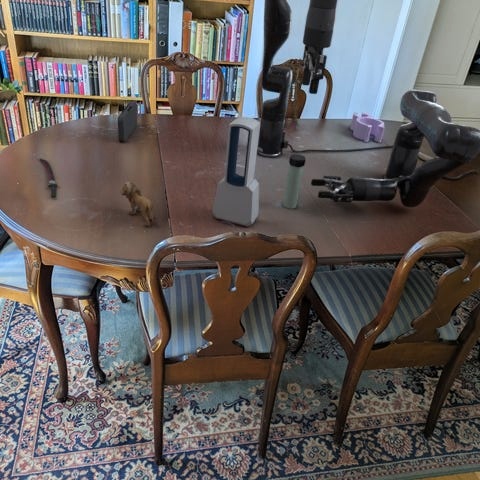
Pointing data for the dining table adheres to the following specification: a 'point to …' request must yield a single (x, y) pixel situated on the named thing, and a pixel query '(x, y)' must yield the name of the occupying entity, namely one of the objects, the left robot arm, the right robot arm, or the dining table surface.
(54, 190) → the sword
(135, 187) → the lion figurine
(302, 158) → the lid
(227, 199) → the electronic device
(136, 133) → the dining table surface
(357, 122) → the clip
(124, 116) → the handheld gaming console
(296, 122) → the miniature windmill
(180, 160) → the dining table surface
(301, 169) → the pale green tube
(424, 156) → the jawbone
